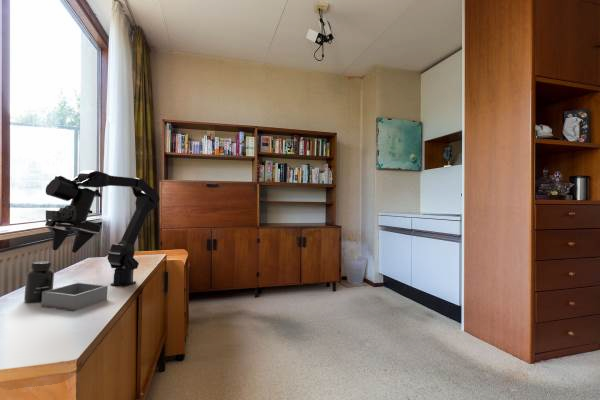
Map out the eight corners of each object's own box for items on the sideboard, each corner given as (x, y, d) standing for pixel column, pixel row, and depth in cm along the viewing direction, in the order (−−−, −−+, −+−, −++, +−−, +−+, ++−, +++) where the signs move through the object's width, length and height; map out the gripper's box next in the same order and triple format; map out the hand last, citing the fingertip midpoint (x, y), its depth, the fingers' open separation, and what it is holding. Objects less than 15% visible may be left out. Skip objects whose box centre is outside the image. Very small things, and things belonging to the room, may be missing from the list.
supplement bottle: (39, 303, 92) (42, 264, 93) (17, 302, 92) (20, 263, 93) (58, 297, 99) (60, 260, 99) (37, 296, 99) (40, 259, 99)
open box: (77, 295, 101) (77, 282, 101) (106, 299, 99) (107, 285, 99) (41, 306, 90) (42, 291, 90) (73, 311, 87) (74, 295, 87)
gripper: (37, 197, 97) (17, 244, 93) (76, 198, 91) (57, 249, 86) (71, 207, 107) (54, 250, 103) (108, 209, 101) (93, 255, 96)
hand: (64, 251), depth 97 cm, fingers open, 9 cm apart
